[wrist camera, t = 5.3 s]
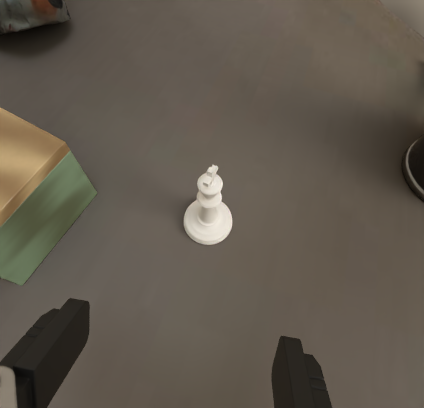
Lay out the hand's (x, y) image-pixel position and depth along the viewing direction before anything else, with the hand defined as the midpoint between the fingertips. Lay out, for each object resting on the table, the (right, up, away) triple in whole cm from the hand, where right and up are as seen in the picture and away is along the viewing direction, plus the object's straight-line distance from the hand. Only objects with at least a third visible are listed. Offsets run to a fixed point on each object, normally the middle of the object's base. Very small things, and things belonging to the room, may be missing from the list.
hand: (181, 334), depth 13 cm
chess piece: (+1, +4, +20) cm, 20 cm away
